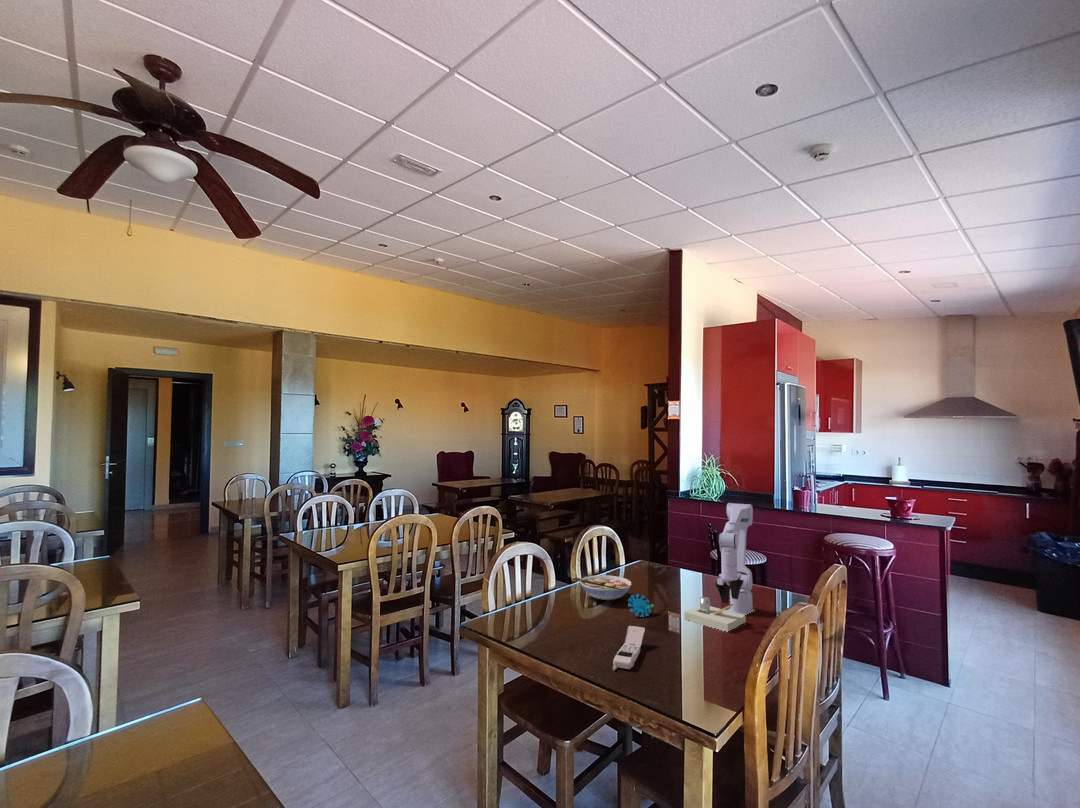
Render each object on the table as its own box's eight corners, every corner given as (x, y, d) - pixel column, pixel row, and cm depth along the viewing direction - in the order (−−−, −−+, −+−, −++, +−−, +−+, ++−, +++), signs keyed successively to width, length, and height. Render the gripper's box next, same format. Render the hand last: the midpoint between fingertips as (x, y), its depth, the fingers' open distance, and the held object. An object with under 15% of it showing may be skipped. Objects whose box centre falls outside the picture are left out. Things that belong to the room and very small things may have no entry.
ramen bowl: (643, 598, 228) (643, 580, 229) (615, 611, 211) (615, 591, 212) (597, 587, 245) (597, 570, 245) (567, 598, 228) (567, 579, 228)
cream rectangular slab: (703, 611, 211) (703, 604, 211) (745, 623, 198) (745, 615, 198) (684, 619, 202) (684, 611, 202) (727, 632, 188) (727, 624, 189)
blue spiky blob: (631, 615, 202) (626, 591, 209) (626, 622, 205) (621, 599, 213) (657, 617, 204) (651, 594, 211) (651, 624, 207) (646, 601, 215)
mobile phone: (645, 627, 178) (629, 654, 155) (646, 644, 177) (629, 674, 154) (628, 625, 180) (609, 651, 157) (628, 642, 180) (610, 671, 157)
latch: (713, 614, 199) (713, 613, 199) (717, 613, 201) (717, 611, 201) (729, 606, 194) (728, 605, 194) (733, 605, 196) (732, 603, 196)
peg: (703, 616, 205) (703, 596, 206) (711, 619, 203) (711, 598, 203) (698, 618, 203) (698, 598, 203) (707, 621, 200) (706, 600, 201)
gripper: (729, 559, 204) (729, 594, 203) (709, 565, 195) (710, 602, 194) (746, 563, 199) (746, 598, 198) (727, 569, 189) (727, 606, 188)
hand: (729, 600), depth 196 cm, fingers open, 7 cm apart
